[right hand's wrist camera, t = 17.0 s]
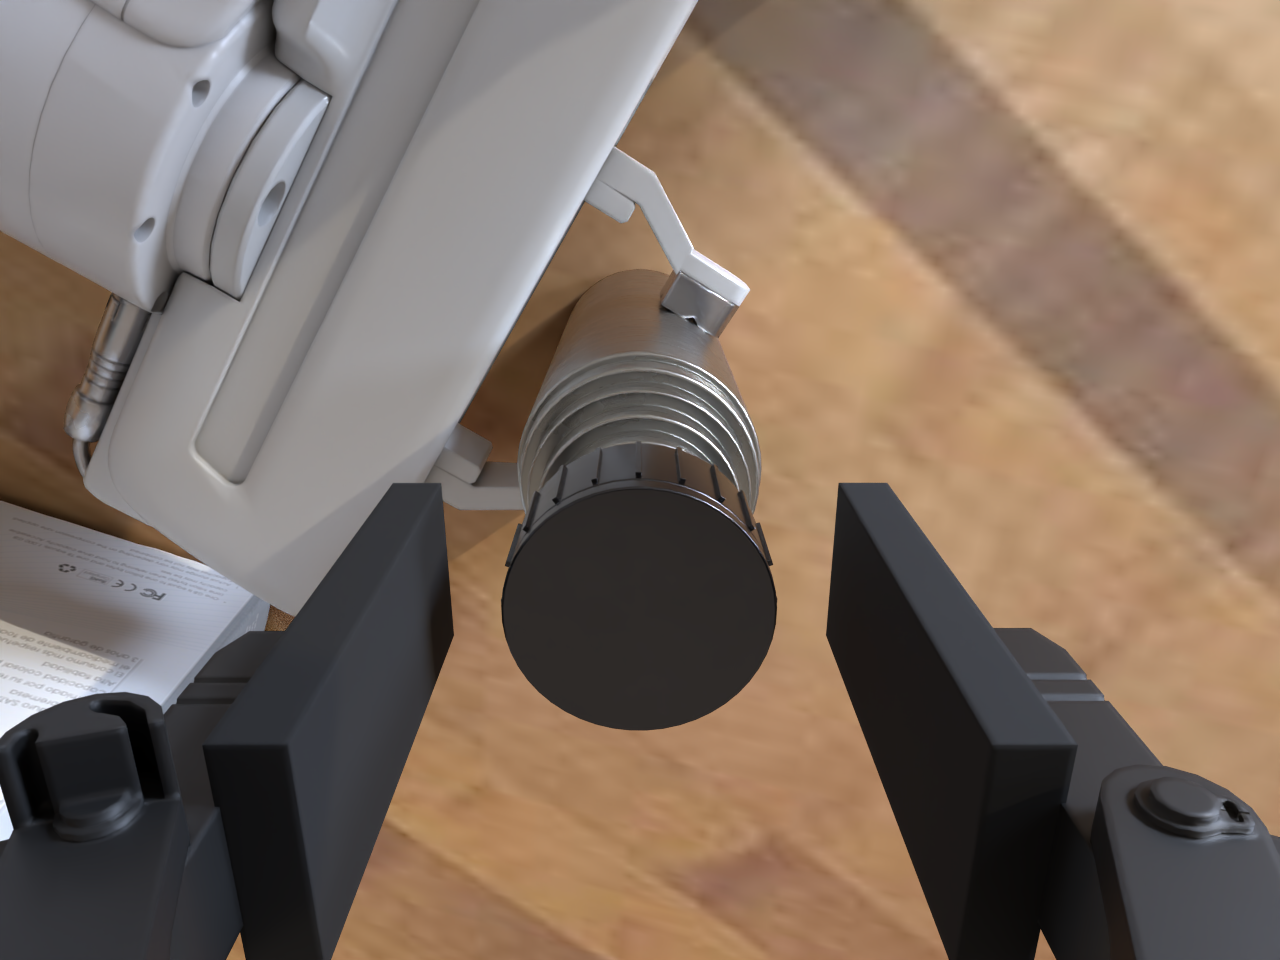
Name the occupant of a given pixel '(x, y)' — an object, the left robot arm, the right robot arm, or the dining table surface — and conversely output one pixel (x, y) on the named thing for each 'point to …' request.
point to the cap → (639, 589)
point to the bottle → (637, 388)
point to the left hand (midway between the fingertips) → (668, 410)
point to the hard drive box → (104, 618)
